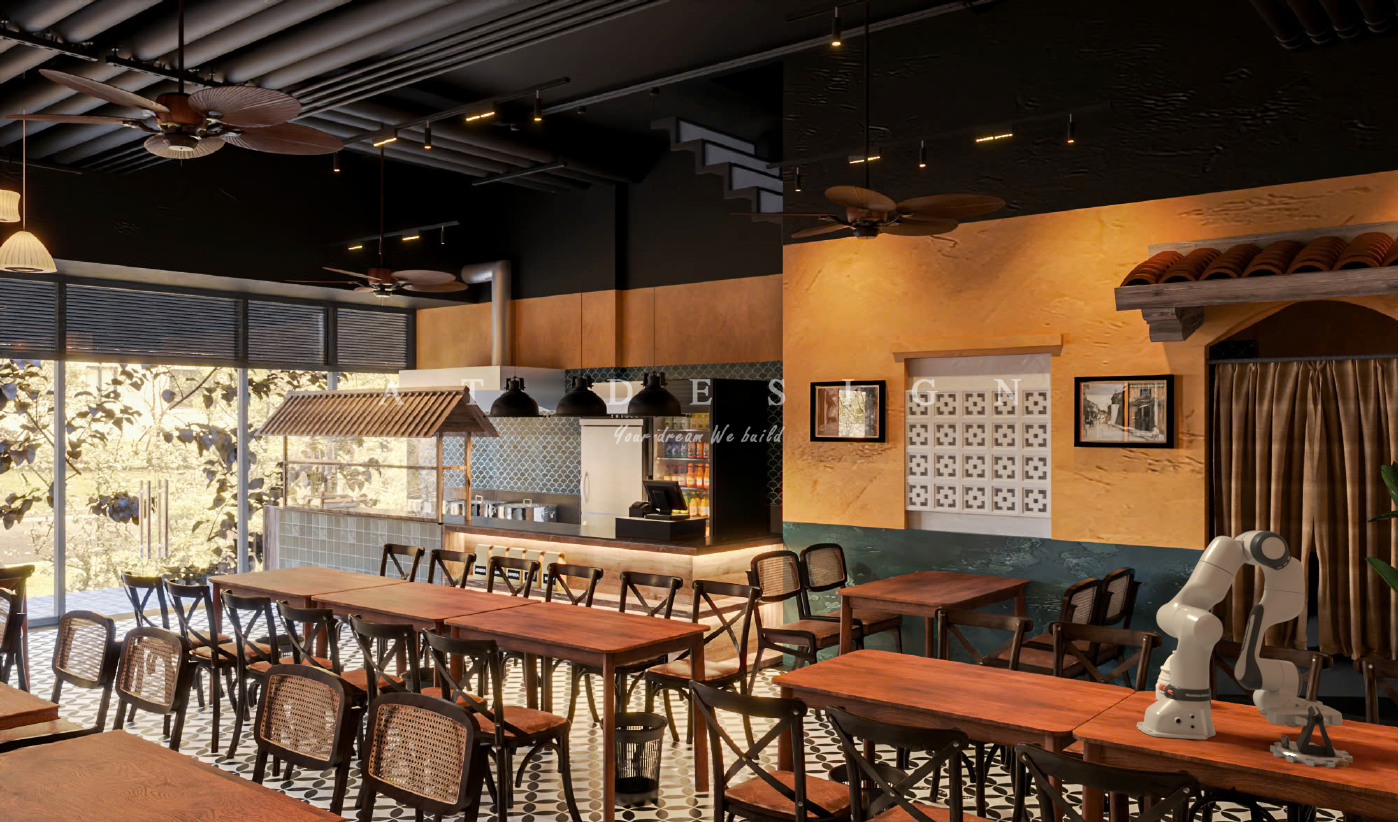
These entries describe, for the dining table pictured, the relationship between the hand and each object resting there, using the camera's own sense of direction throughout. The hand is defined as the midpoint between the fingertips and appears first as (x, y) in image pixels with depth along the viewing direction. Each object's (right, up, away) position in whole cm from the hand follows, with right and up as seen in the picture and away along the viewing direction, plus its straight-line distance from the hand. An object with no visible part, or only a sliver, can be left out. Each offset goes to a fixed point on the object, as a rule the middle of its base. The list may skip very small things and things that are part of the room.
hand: (1317, 723), depth 292 cm
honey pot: (-11, -12, +63) cm, 65 cm away
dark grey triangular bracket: (-1, -8, -1) cm, 8 cm away
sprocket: (-2, -9, 0) cm, 10 cm away
